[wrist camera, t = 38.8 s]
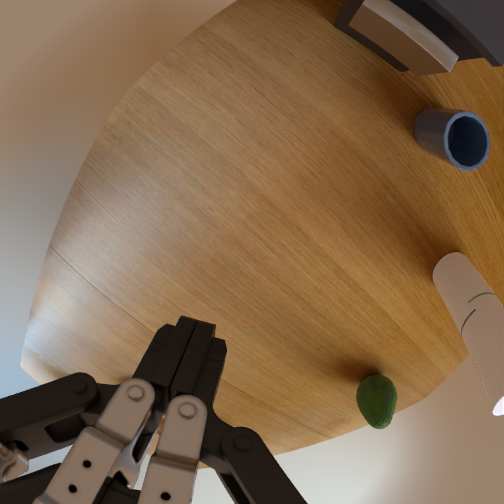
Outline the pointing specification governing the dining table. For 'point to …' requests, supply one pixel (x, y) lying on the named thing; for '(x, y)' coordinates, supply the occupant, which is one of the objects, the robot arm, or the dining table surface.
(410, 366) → the dining table surface
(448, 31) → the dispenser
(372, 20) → the plate
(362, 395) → the fruit
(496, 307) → the cylindrical container
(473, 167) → the cup
